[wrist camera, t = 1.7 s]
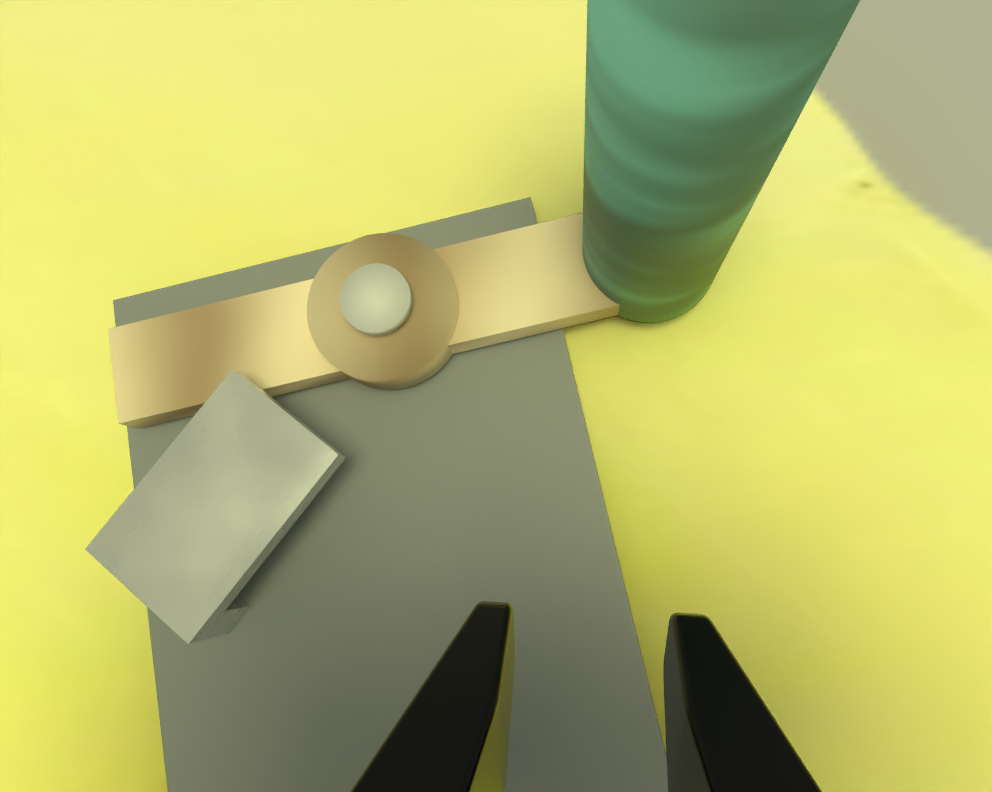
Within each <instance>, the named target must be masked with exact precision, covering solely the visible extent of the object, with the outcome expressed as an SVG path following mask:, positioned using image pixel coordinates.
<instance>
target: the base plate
mask: <svg viewBox="0 0 992 792" xmlns="http://www.w3.org/2000/svg"><path fill="white" fill-rule="evenodd" d="M535 224H537V222H536V218H535V213H534V209H533V205H532V201H531V197H530V198H526V199H522V200H517V201H513V202H509V203H505V204H501V205H497V206H493V207H489V208H485V209H481V210H477V211H473V212H469V213H465V214H461V215H457V216H453V217H449V218H445V219H441V220H437V221H432V222H428V223H424V224H420V225H416V226H412V227H408V228H404V229H400V230H396V231H392V232H388V233H392V234H400V235H405V236H408V237H411V238H414V239H416V240H418V241H420V242H422V243H424V244H425V245H426V246H428V247H429V248H431V249H432V250H433V249H437V248H441V247H445V246H449V245H453V244H457V243H461V242H465V241H469V240H473V239H477V238H482V237H486V236H490V235H494V234H498V233H502V232H506V231H510V230H514V229H518V228H522V227H526V226H531V225H535ZM347 243H349V242H347ZM347 243H343V244H339V245H335V246H331V247H327V248H323V249H319V250H315V251H311V252H307V253H303V254H299V255H295V256H291V257H287V258H283V259H279V260H275V261H271V262H267V263H263V264H258V265H254V266H250V267H246V268H242V269H238V270H234V271H230V272H226V273H222V274H218V275H214V276H210V277H206V278H202V279H198V280H194V281H190V282H186V283H182V284H178V285H173V286H169V287H165V288H161V289H157V290H153V291H149V292H145V293H141V294H137V295H133V296H129V297H125V298H121V299H117V300H113V304H114V313H115V322H116V327H118V326H122V325H126V324H130V323H134V322H138V321H143V320H147V319H151V318H155V317H159V316H163V315H167V314H171V313H175V312H179V311H183V310H188V309H192V308H196V307H200V306H204V305H208V304H212V303H216V302H220V301H224V300H228V299H232V298H237V297H241V296H245V295H249V294H253V293H257V292H261V291H265V290H269V289H273V288H277V287H281V286H286V285H290V284H294V283H298V282H302V281H306V280H310V279H314V278H315V276H316V274H317V272H318V271H319V269H320V268H321V266H322V265H323V264H324V263H325V261H326V260H327V259H328V258H329V257H330V256H331V255H332V254H333V253H334V252H336V251H337V250H338V249H339V248H341V247H342V246H344V245H346V244H347ZM339 302H340V308H341V311H342V314H343V315H344V317H345V319H346V320H347V321H348V322H349V323H350V324H351V325H352V326H353V327H354V328H355V329H357V330H358V331H360V332H362V333H364V334H367V335H373V336H379V335H385V334H388V333H390V332H393V331H394V330H396V329H397V328H399V327H400V326H401V325H402V324H403V323H404V322H405V320H406V319H407V317H408V316H409V314H410V311H411V308H412V292H411V289H410V286H409V284H408V283H407V281H406V280H405V278H404V277H403V275H402V274H401V273H400V272H399V271H398V270H396V269H395V268H393V267H391V266H389V265H386V264H380V263H373V264H367V265H364V266H362V267H360V268H358V269H356V270H355V271H354V272H352V273H351V274H350V275H349V276H348V278H347V279H346V280H345V282H344V284H343V286H342V288H341V291H340V299H339ZM272 398H273V399H275V400H276V401H277V402H278V403H280V404H281V405H282V406H283V407H284V408H286V409H287V410H288V411H289V412H291V413H292V414H293V415H294V416H296V417H297V418H298V419H299V420H301V421H302V422H303V423H304V424H305V425H307V426H308V427H309V428H310V429H312V430H313V431H314V432H315V433H317V434H318V435H319V436H320V437H322V438H323V439H324V440H325V441H327V442H328V443H329V444H330V445H331V446H333V447H334V448H335V449H336V450H338V451H339V452H340V453H341V454H343V455H344V456H345V457H346V458H345V459H344V461H343V462H342V463H341V465H340V466H339V467H338V468H337V470H336V471H335V472H334V473H333V475H332V476H331V477H330V478H329V480H328V481H327V482H326V484H325V485H324V486H323V487H322V489H321V490H320V491H319V492H318V494H317V495H316V496H315V497H314V499H313V500H312V501H311V502H310V504H309V505H308V506H307V508H306V509H305V510H304V511H303V513H302V514H301V515H300V516H299V518H298V519H297V520H296V521H295V523H294V524H293V525H292V527H291V528H290V529H289V530H288V532H287V533H286V534H285V535H284V537H283V538H282V539H281V540H280V542H279V543H278V544H277V545H276V547H275V548H274V549H273V551H272V552H271V553H270V554H269V556H268V557H267V558H266V559H265V561H264V562H263V563H262V564H261V566H260V567H259V568H258V569H257V571H256V572H255V573H254V575H253V576H252V577H251V578H250V580H249V581H248V582H247V583H246V585H245V586H244V587H243V588H242V590H241V591H240V592H239V594H238V595H239V596H240V597H241V598H242V599H243V600H244V601H246V602H247V603H248V604H249V605H250V608H249V609H248V610H247V611H246V613H245V614H244V615H243V616H242V618H241V619H240V620H239V621H238V623H237V624H236V625H235V627H234V628H233V629H232V630H231V632H230V633H229V634H226V635H222V636H218V637H214V638H210V639H207V640H203V641H199V642H195V643H191V644H187V643H186V642H185V641H184V640H183V639H182V638H181V637H180V636H179V635H177V634H176V633H175V632H174V631H173V630H172V629H171V628H170V627H169V626H168V625H167V624H166V623H164V622H163V621H162V620H161V619H160V618H159V617H158V616H157V615H156V614H155V613H154V612H153V611H152V610H150V609H149V608H148V607H147V609H148V618H149V627H150V635H151V644H152V653H153V662H154V671H155V680H156V689H157V698H158V707H159V716H160V725H161V734H162V743H163V752H164V761H165V770H166V779H167V788H168V792H350V791H351V789H352V788H353V786H354V785H355V783H356V782H357V780H358V779H359V777H360V776H361V774H362V773H363V771H364V770H365V768H366V767H367V766H368V764H369V763H370V761H371V760H372V758H373V757H374V755H375V754H376V752H377V751H378V749H379V748H380V746H381V745H382V743H383V742H384V740H385V739H386V737H387V736H388V734H389V733H390V731H391V730H392V728H393V727H394V725H395V724H396V722H397V721H398V720H399V718H400V717H401V715H402V714H403V712H404V711H405V709H406V708H407V706H408V705H409V703H410V702H411V700H412V699H413V697H414V696H415V694H416V693H417V691H418V690H419V688H420V687H421V685H422V684H423V682H424V681H425V679H426V678H427V676H428V675H429V674H430V672H431V671H432V669H433V668H434V666H435V665H436V663H437V662H438V660H439V659H440V657H441V656H442V654H443V653H444V651H445V650H446V648H447V647H448V645H449V644H450V642H451V641H452V639H453V638H454V636H455V635H456V633H457V632H458V630H459V629H460V627H461V626H462V625H463V623H464V622H465V620H466V619H467V617H468V616H469V614H470V613H471V611H472V610H473V608H474V607H475V606H476V605H477V604H478V603H479V602H481V601H491V602H507V603H510V604H511V605H512V607H513V610H514V635H515V665H514V679H513V692H512V706H511V719H510V733H509V746H508V760H507V773H506V783H505V792H668V779H667V758H666V754H665V750H664V746H663V742H662V737H661V733H660V729H659V725H658V721H657V717H656V713H655V709H654V704H653V700H652V696H651V692H650V688H649V684H648V680H647V676H646V671H645V667H644V663H643V659H642V655H641V651H640V647H639V643H638V638H637V634H636V630H635V626H634V622H633V618H632V614H631V610H630V605H629V601H628V597H627V593H626V589H625V585H624V581H623V577H622V572H621V568H620V564H619V560H618V556H617V552H616V548H615V544H614V539H613V535H612V531H611V527H610V523H609V519H608V515H607V511H606V506H605V502H604V498H603V494H602V490H601V486H600V482H599V478H598V473H597V469H596V465H595V461H594V457H593V453H592V449H591V445H590V440H589V436H588V432H587V428H586V424H585V420H584V416H583V412H582V407H581V403H580V399H579V395H578V391H577V387H576V383H575V379H574V374H573V370H572V366H571V362H570V358H569V354H568V350H567V346H566V341H565V337H564V333H563V329H562V328H561V329H557V330H552V331H548V332H544V333H540V334H535V335H531V336H527V337H523V338H519V339H514V340H510V341H506V342H502V343H497V344H493V345H489V346H485V347H480V348H476V349H472V350H468V351H463V352H459V353H455V354H453V355H452V356H451V358H450V359H449V360H448V362H447V363H446V364H445V365H444V366H443V367H442V368H441V369H440V370H439V371H438V372H437V373H436V374H434V375H433V376H432V377H430V378H429V379H427V380H425V381H424V382H421V383H419V384H417V385H414V386H411V387H408V388H403V389H397V390H383V389H376V388H372V387H368V386H365V385H363V384H360V383H359V382H357V381H355V380H353V379H352V378H349V379H345V380H341V381H336V382H332V383H328V384H324V385H319V386H315V387H311V388H307V389H302V390H298V391H294V392H290V393H285V394H281V395H277V396H273V397H272ZM194 416H195V415H192V416H188V417H184V418H180V419H175V420H171V421H167V422H163V423H158V424H154V425H150V426H146V427H141V428H134V427H130V426H127V430H128V439H129V448H130V457H131V466H132V474H133V483H134V489H135V488H136V486H137V485H138V484H139V483H140V482H141V480H142V479H143V478H144V477H145V475H146V474H147V473H148V472H149V471H150V469H151V468H152V467H153V466H154V464H155V463H156V462H157V461H158V460H159V458H160V457H161V456H162V455H163V453H164V452H165V451H166V450H167V449H168V447H169V446H170V445H171V444H172V442H173V441H174V440H175V439H176V438H177V436H178V435H179V434H180V433H181V431H182V430H183V429H184V428H185V427H186V425H187V424H188V423H189V422H190V420H191V419H192V418H193V417H194Z"/></svg>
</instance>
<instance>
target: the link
mask: <svg viewBox="0 0 992 792" xmlns="http://www.w3.org/2000/svg"><path fill="white" fill-rule="evenodd" d="M859 1H860V0H588V3H587V50H586V96H585V142H584V189H583V213H580V214H576V215H571V216H567V217H563V218H559V219H555V220H551V221H547V222H543V223H539V224H535V225H531V226H526V227H522V228H518V229H514V230H510V231H506V232H502V233H498V234H494V235H490V236H486V237H482V238H477V239H473V240H469V241H465V242H461V243H457V244H453V245H449V246H445V247H441V248H437V249H433V250H432V249H431V248H429V247H428V246H426V245H425V244H424V243H422V242H420V241H418V240H416V239H414V238H411V237H408V236H405V235H400V234H392V233H380V234H372V235H367V236H364V237H361V238H358V239H355V240H353V241H351V242H349V243H347V244H346V245H344V246H342V247H341V248H339V249H338V250H337V251H336V252H334V253H333V254H332V255H331V256H330V257H329V258H328V259H327V260H326V261H325V263H324V264H323V265H322V266H321V268H320V269H319V271H318V272H317V274H316V276H315V278H314V279H310V280H306V281H302V282H298V283H294V284H290V285H286V286H281V287H277V288H273V289H269V290H265V291H261V292H257V293H253V294H249V295H245V296H241V297H237V298H232V299H228V300H224V301H220V302H216V303H212V304H208V305H204V306H200V307H196V308H192V309H188V310H183V311H179V312H175V313H171V314H167V315H163V316H159V317H155V318H151V319H147V320H143V321H138V322H134V323H130V324H126V325H122V326H118V327H114V328H110V329H108V332H109V341H110V351H111V360H112V369H113V378H114V387H115V396H116V405H117V415H118V423H119V424H122V425H126V426H130V427H134V428H141V427H146V426H150V425H154V424H158V423H163V422H167V421H171V420H175V419H180V418H184V417H188V416H192V415H195V414H196V413H197V412H198V411H199V409H200V408H201V407H202V406H203V405H204V403H205V402H206V401H207V400H208V398H209V397H210V396H211V395H212V394H213V392H214V391H215V390H216V389H217V387H218V386H219V385H220V384H221V383H222V381H223V380H224V379H225V378H226V376H227V375H228V374H229V373H230V372H231V370H232V369H234V370H236V371H238V372H240V373H242V374H244V375H245V376H246V377H247V378H249V379H250V380H251V381H252V382H254V383H255V384H256V385H257V386H258V387H260V388H261V389H262V390H263V391H265V392H266V393H267V394H268V395H270V396H271V397H273V396H277V395H281V394H285V393H290V392H294V391H298V390H302V389H307V388H311V387H315V386H319V385H324V384H328V383H332V382H336V381H341V380H345V379H349V378H352V379H353V380H355V381H357V382H359V383H360V384H363V385H365V386H368V387H372V388H376V389H383V390H397V389H403V388H408V387H411V386H414V385H417V384H419V383H421V382H424V381H425V380H427V379H429V378H430V377H432V376H433V375H434V374H436V373H437V372H438V371H439V370H440V369H441V368H442V367H443V366H444V365H445V364H446V363H447V362H448V360H449V359H450V358H451V356H452V355H453V354H455V353H459V352H463V351H468V350H472V349H476V348H480V347H485V346H489V345H493V344H497V343H502V342H506V341H510V340H514V339H519V338H523V337H527V336H531V335H535V334H540V333H544V332H548V331H552V330H557V329H561V328H565V327H569V326H574V325H578V324H582V323H586V322H591V321H595V320H599V319H603V318H608V317H612V316H616V315H619V316H621V317H623V318H626V319H629V320H633V321H638V322H660V321H666V320H669V319H672V318H675V317H677V316H680V315H682V314H684V313H685V312H687V311H689V310H690V309H691V308H693V307H694V306H695V305H696V304H697V303H698V302H699V301H700V300H701V299H702V298H703V297H704V295H705V294H706V293H707V291H708V289H709V287H710V286H711V284H712V282H713V280H714V278H715V276H716V274H717V272H718V270H719V268H720V267H721V265H722V263H723V261H724V259H725V257H726V255H727V253H728V251H729V249H730V247H731V246H732V244H733V242H734V240H735V238H736V236H737V234H738V232H739V230H740V228H741V226H742V225H743V223H744V221H745V219H746V217H747V215H748V213H749V211H750V209H751V207H752V205H753V204H754V202H755V200H756V198H757V196H758V194H759V192H760V190H761V188H762V186H763V184H764V183H765V181H766V179H767V177H768V175H769V173H770V171H771V169H772V167H773V165H774V163H775V162H776V160H777V158H778V156H779V154H780V152H781V150H782V148H783V146H784V144H785V143H786V141H787V139H788V137H789V135H790V133H791V131H792V129H793V127H794V125H795V123H796V122H797V120H798V118H799V116H800V114H801V112H802V110H803V108H804V106H805V104H806V102H807V101H808V99H809V97H810V95H811V93H812V91H813V89H814V87H815V85H816V83H817V81H818V80H819V78H820V76H821V74H822V72H823V70H824V68H825V66H826V64H827V62H828V60H829V59H830V57H831V55H832V53H833V51H834V49H835V47H836V45H837V43H838V41H839V39H840V38H841V36H842V34H843V32H844V30H845V28H846V26H847V24H848V22H849V20H850V19H851V17H852V15H853V13H854V11H855V9H856V7H857V5H858V3H859ZM373 263H380V264H386V265H389V266H391V267H393V268H395V269H396V270H398V271H399V272H400V273H401V274H402V275H403V277H404V278H405V280H406V281H407V283H408V284H409V286H410V289H411V292H412V308H411V311H410V314H409V316H408V317H407V319H406V320H405V322H404V323H403V324H402V325H401V326H400V327H399V328H397V329H396V330H394V331H393V332H390V333H388V334H385V335H379V336H373V335H367V334H364V333H362V332H360V331H358V330H357V329H355V328H354V327H353V326H352V325H351V324H350V323H349V322H348V321H347V320H346V319H345V317H344V315H343V314H342V311H341V308H340V302H339V299H340V291H341V288H342V286H343V284H344V282H345V280H346V279H347V278H348V276H349V275H350V274H351V273H352V272H354V271H355V270H356V269H358V268H360V267H362V266H364V265H367V264H373Z"/></svg>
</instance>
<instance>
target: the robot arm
mask: <svg viewBox="0 0 992 792" xmlns="http://www.w3.org/2000/svg"><path fill="white" fill-rule="evenodd" d="M514 665H515V635H514V610H513V607H512V605H511V604H510V603H507V602H491V601H481V602H479V603H478V604H477V605H476V606H475V607H474V608H473V610H472V611H471V613H470V614H469V616H468V617H467V619H466V620H465V622H464V623H463V625H462V626H461V627H460V629H459V630H458V632H457V633H456V635H455V636H454V638H453V639H452V641H451V642H450V644H449V645H448V647H447V648H446V650H445V651H444V653H443V654H442V656H441V657H440V659H439V660H438V662H437V663H436V665H435V666H434V668H433V669H432V671H431V672H430V674H429V675H428V676H427V678H426V679H425V681H424V682H423V684H422V685H421V687H420V688H419V690H418V691H417V693H416V694H415V696H414V697H413V699H412V700H411V702H410V703H409V705H408V706H407V708H406V709H405V711H404V712H403V714H402V715H401V717H400V718H399V720H398V721H397V722H396V724H395V725H394V727H393V728H392V730H391V731H390V733H389V734H388V736H387V737H386V739H385V740H384V742H383V743H382V745H381V746H380V748H379V749H378V751H377V752H376V754H375V755H374V757H373V758H372V760H371V761H370V763H369V764H368V766H367V767H366V768H365V770H364V771H363V773H362V774H361V776H360V777H359V779H358V780H357V782H356V783H355V785H354V786H353V788H352V789H351V791H350V792H505V783H506V773H507V760H508V746H509V733H510V719H511V706H512V692H513V679H514ZM664 702H665V728H666V754H667V779H668V792H822V791H821V789H820V788H819V786H818V785H817V783H816V782H815V780H814V779H813V777H812V775H811V774H810V772H809V771H808V769H807V768H806V766H805V765H804V763H803V762H802V760H801V758H800V757H799V755H798V754H797V752H796V751H795V749H794V748H793V746H792V745H791V743H790V741H789V740H788V738H787V737H786V735H785V734H784V732H783V731H782V729H781V728H780V726H779V724H778V723H777V721H776V720H775V718H774V717H773V715H772V714H771V712H770V711H769V709H768V707H767V706H766V704H765V703H764V701H763V700H762V698H761V697H760V695H759V694H758V692H757V690H756V689H755V687H754V686H753V684H752V683H751V681H750V680H749V678H748V677H747V675H746V673H745V672H744V670H743V669H742V667H741V666H740V664H739V663H738V661H737V660H736V658H735V656H734V655H733V653H732V652H731V650H730V649H729V647H728V646H727V644H726V643H725V641H724V639H723V638H722V636H721V635H720V633H719V632H718V630H717V629H716V627H715V626H714V624H713V623H712V621H711V620H710V619H709V618H708V617H707V616H705V615H702V614H688V613H674V614H673V615H672V616H671V617H670V620H669V627H668V634H667V641H666V648H665V656H664Z"/></svg>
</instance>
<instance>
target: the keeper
mask: <svg viewBox="0 0 992 792" xmlns="http://www.w3.org/2000/svg"><path fill="white" fill-rule="evenodd" d="M345 458H346V457H345V456H344V455H343V454H341V453H340V452H339V451H338V450H336V449H335V448H334V447H333V446H331V445H330V444H329V443H328V442H327V441H325V440H324V439H323V438H322V437H320V436H319V435H318V434H317V433H315V432H314V431H313V430H312V429H310V428H309V427H308V426H307V425H305V424H304V423H303V422H302V421H301V420H299V419H298V418H297V417H296V416H294V415H293V414H292V413H291V412H289V411H288V410H287V409H286V408H284V407H283V406H282V405H281V404H280V403H278V402H277V401H276V400H275V399H273V398H272V397H271V396H270V395H268V394H267V393H266V392H265V391H263V390H262V389H261V388H260V387H258V386H257V385H256V384H255V383H254V382H252V381H251V380H250V379H249V378H247V377H246V376H245V375H244V374H242V373H240V372H238V371H236V370H234V369H232V370H231V372H230V373H229V374H228V375H227V376H226V378H225V379H224V380H223V381H222V383H221V384H220V385H219V386H218V387H217V389H216V390H215V391H214V392H213V394H212V395H211V396H210V397H209V398H208V400H207V401H206V402H205V403H204V405H203V406H202V407H201V408H200V409H199V411H198V412H197V413H196V414H195V416H194V417H193V418H192V419H191V420H190V422H189V423H188V424H187V425H186V427H185V428H184V429H183V430H182V431H181V433H180V434H179V435H178V436H177V438H176V439H175V440H174V441H173V442H172V444H171V445H170V446H169V447H168V449H167V450H166V451H165V452H164V453H163V455H162V456H161V457H160V458H159V460H158V461H157V462H156V463H155V464H154V466H153V467H152V468H151V469H150V471H149V472H148V473H147V474H146V475H145V477H144V478H143V479H142V480H141V482H140V483H139V484H138V485H137V486H136V488H135V489H134V490H133V491H132V493H131V494H130V495H129V496H128V497H127V499H126V500H125V501H124V502H123V504H122V505H121V506H120V507H119V508H118V510H117V511H116V512H115V513H114V515H113V516H112V517H111V518H110V519H109V521H108V522H107V523H106V524H105V526H104V527H103V528H102V529H101V530H100V532H99V533H98V534H97V535H96V537H95V538H94V539H93V540H92V541H91V543H90V544H89V545H88V546H87V548H86V550H87V551H88V552H89V553H90V554H91V555H92V556H93V557H94V558H95V559H96V560H97V561H99V562H100V563H101V564H102V565H103V566H104V567H105V568H106V569H107V570H108V571H109V572H110V573H112V574H113V575H114V576H115V577H116V578H117V579H118V580H119V581H120V582H121V583H122V584H123V585H124V586H126V587H127V588H128V589H129V590H130V591H131V592H132V593H133V594H134V595H135V596H136V597H137V598H139V599H140V600H141V601H142V602H143V603H144V604H145V605H146V606H147V607H148V608H149V609H150V610H152V611H153V612H154V613H155V614H156V615H157V616H158V617H159V618H160V619H161V620H162V621H163V622H164V623H166V624H167V625H168V626H169V627H170V628H171V629H172V630H173V631H174V632H175V633H176V634H177V635H179V636H180V637H181V638H182V639H183V640H184V641H185V642H186V643H187V644H191V643H195V642H199V641H203V640H207V639H210V638H214V637H218V636H222V635H226V634H229V633H230V632H231V630H232V629H233V628H234V627H235V625H236V624H237V623H238V621H239V620H240V619H241V618H242V616H243V615H244V614H245V613H246V611H247V610H248V609H249V608H250V605H249V604H248V603H247V602H246V601H244V600H243V599H242V598H241V597H240V596H239V595H238V594H239V592H240V591H241V590H242V588H243V587H244V586H245V585H246V583H247V582H248V581H249V580H250V578H251V577H252V576H253V575H254V573H255V572H256V571H257V569H258V568H259V567H260V566H261V564H262V563H263V562H264V561H265V559H266V558H267V557H268V556H269V554H270V553H271V552H272V551H273V549H274V548H275V547H276V545H277V544H278V543H279V542H280V540H281V539H282V538H283V537H284V535H285V534H286V533H287V532H288V530H289V529H290V528H291V527H292V525H293V524H294V523H295V521H296V520H297V519H298V518H299V516H300V515H301V514H302V513H303V511H304V510H305V509H306V508H307V506H308V505H309V504H310V502H311V501H312V500H313V499H314V497H315V496H316V495H317V494H318V492H319V491H320V490H321V489H322V487H323V486H324V485H325V484H326V482H327V481H328V480H329V478H330V477H331V476H332V475H333V473H334V472H335V471H336V470H337V468H338V467H339V466H340V465H341V463H342V462H343V461H344V459H345Z"/></svg>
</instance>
